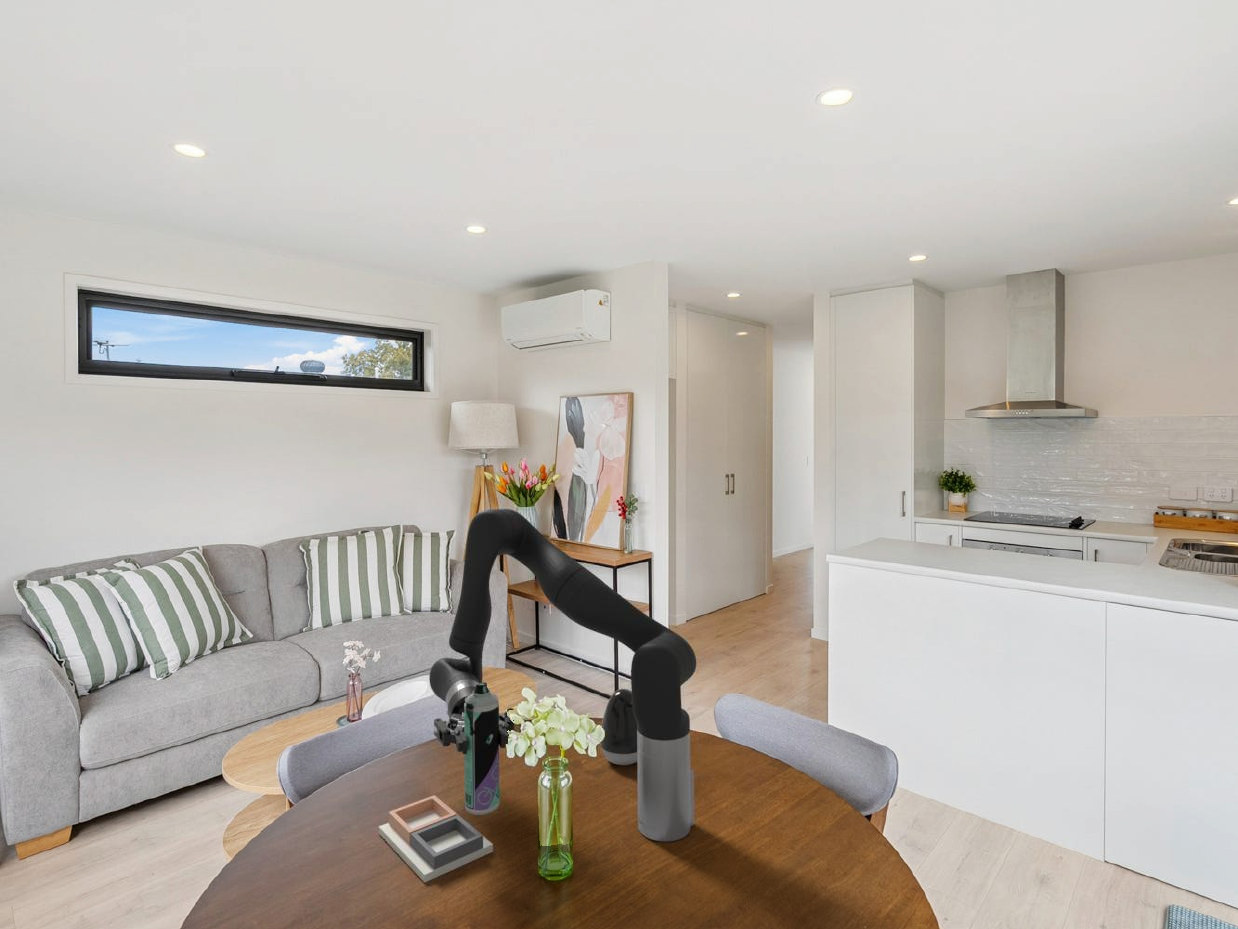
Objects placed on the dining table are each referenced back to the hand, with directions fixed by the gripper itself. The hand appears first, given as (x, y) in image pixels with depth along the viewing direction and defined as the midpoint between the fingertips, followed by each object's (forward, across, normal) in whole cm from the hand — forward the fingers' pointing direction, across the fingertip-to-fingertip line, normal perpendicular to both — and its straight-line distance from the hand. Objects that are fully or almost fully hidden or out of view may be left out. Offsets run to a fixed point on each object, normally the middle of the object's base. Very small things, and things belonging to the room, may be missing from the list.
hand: (484, 745), depth 106 cm
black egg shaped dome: (-26, +34, +20) cm, 48 cm away
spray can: (-3, 0, +11) cm, 11 cm away
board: (-10, -7, +20) cm, 23 cm away
